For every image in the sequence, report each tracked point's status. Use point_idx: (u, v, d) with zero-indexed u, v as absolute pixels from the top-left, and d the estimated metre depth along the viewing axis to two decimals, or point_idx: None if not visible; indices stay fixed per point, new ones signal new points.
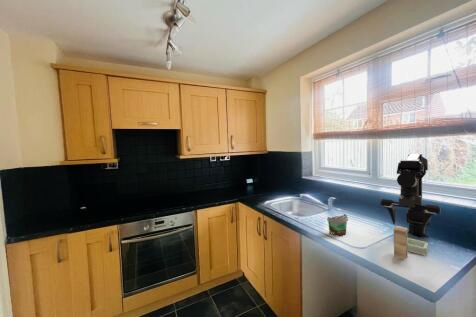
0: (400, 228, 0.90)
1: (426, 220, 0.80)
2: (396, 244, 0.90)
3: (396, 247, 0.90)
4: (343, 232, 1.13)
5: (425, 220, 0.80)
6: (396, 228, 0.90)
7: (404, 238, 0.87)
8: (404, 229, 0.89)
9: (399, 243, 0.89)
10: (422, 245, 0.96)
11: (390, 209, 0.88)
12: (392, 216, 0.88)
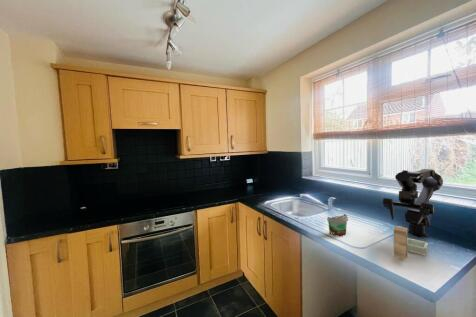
0: (400, 228, 0.90)
1: (421, 215, 0.92)
2: (396, 244, 0.90)
3: (396, 247, 0.90)
4: (343, 232, 1.13)
5: (420, 215, 0.92)
6: (396, 228, 0.90)
7: (404, 238, 0.87)
8: (404, 229, 0.89)
9: (399, 243, 0.89)
10: (422, 245, 0.96)
11: (390, 205, 1.01)
12: (391, 211, 1.00)
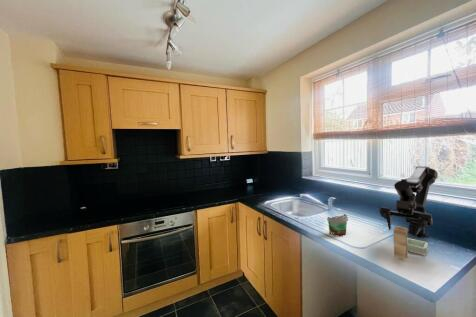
0: (400, 228, 0.90)
1: (418, 226, 0.89)
2: (396, 244, 0.90)
3: (396, 247, 0.90)
4: (343, 232, 1.13)
5: (418, 226, 0.89)
6: (396, 228, 0.90)
7: (404, 238, 0.87)
8: (404, 229, 0.89)
9: (399, 243, 0.89)
10: (422, 245, 0.96)
11: (387, 214, 0.98)
12: (388, 221, 0.97)
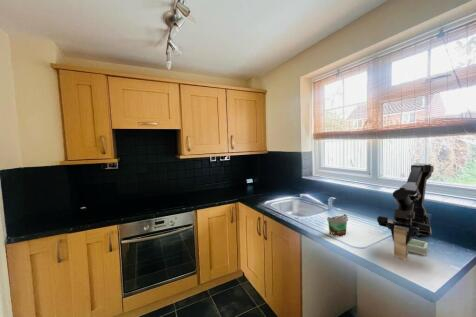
0: (400, 228, 0.90)
1: (410, 235, 0.88)
2: (396, 244, 0.90)
3: (396, 247, 0.90)
4: (343, 232, 1.13)
5: (409, 235, 0.88)
6: (396, 228, 0.90)
7: (404, 238, 0.87)
8: (404, 229, 0.89)
9: (399, 243, 0.89)
10: (422, 245, 0.96)
11: (391, 225, 0.93)
12: (393, 233, 0.92)
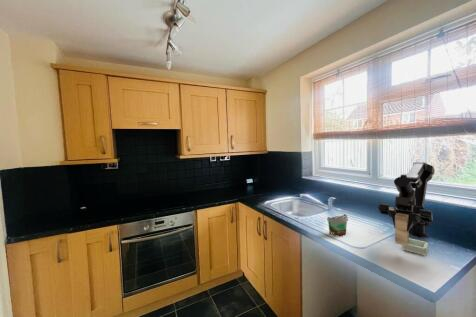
0: (401, 215, 0.90)
1: (411, 221, 0.88)
2: (397, 231, 0.90)
3: (398, 234, 0.90)
4: (343, 232, 1.13)
5: (410, 221, 0.88)
6: (397, 215, 0.90)
7: (405, 224, 0.88)
8: (405, 216, 0.89)
9: (400, 230, 0.89)
10: (422, 245, 0.96)
11: (393, 212, 0.93)
12: (394, 220, 0.92)
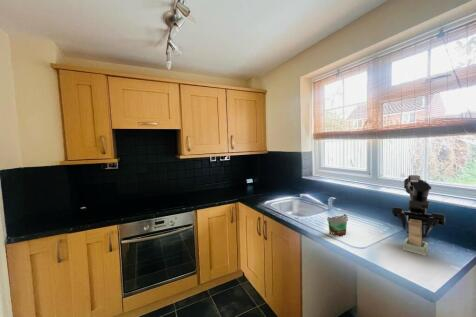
0: (414, 221, 0.95)
1: (429, 225, 0.91)
2: (411, 236, 0.94)
3: (412, 239, 0.94)
4: (343, 232, 1.13)
5: (429, 225, 0.92)
6: (410, 221, 0.95)
7: (419, 230, 0.92)
8: (418, 221, 0.94)
9: (414, 235, 0.94)
10: (422, 245, 0.96)
11: (402, 215, 0.99)
12: (403, 221, 0.98)
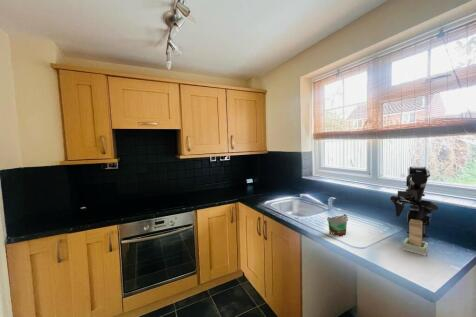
0: (415, 221, 0.95)
1: (419, 213, 0.96)
2: (411, 236, 0.94)
3: (412, 239, 0.94)
4: (343, 232, 1.13)
5: (419, 213, 0.96)
6: (411, 221, 0.95)
7: (419, 230, 0.92)
8: (419, 222, 0.94)
9: (414, 235, 0.94)
10: (422, 245, 0.96)
11: (395, 203, 1.07)
12: (396, 209, 1.06)
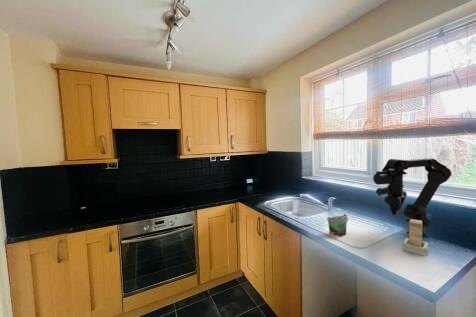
0: (415, 221, 0.95)
1: None
2: (411, 236, 0.94)
3: (412, 239, 0.94)
4: (343, 232, 1.13)
5: None
6: (411, 221, 0.95)
7: (419, 230, 0.92)
8: (419, 222, 0.94)
9: (414, 235, 0.94)
10: (422, 245, 0.96)
11: None
12: None
